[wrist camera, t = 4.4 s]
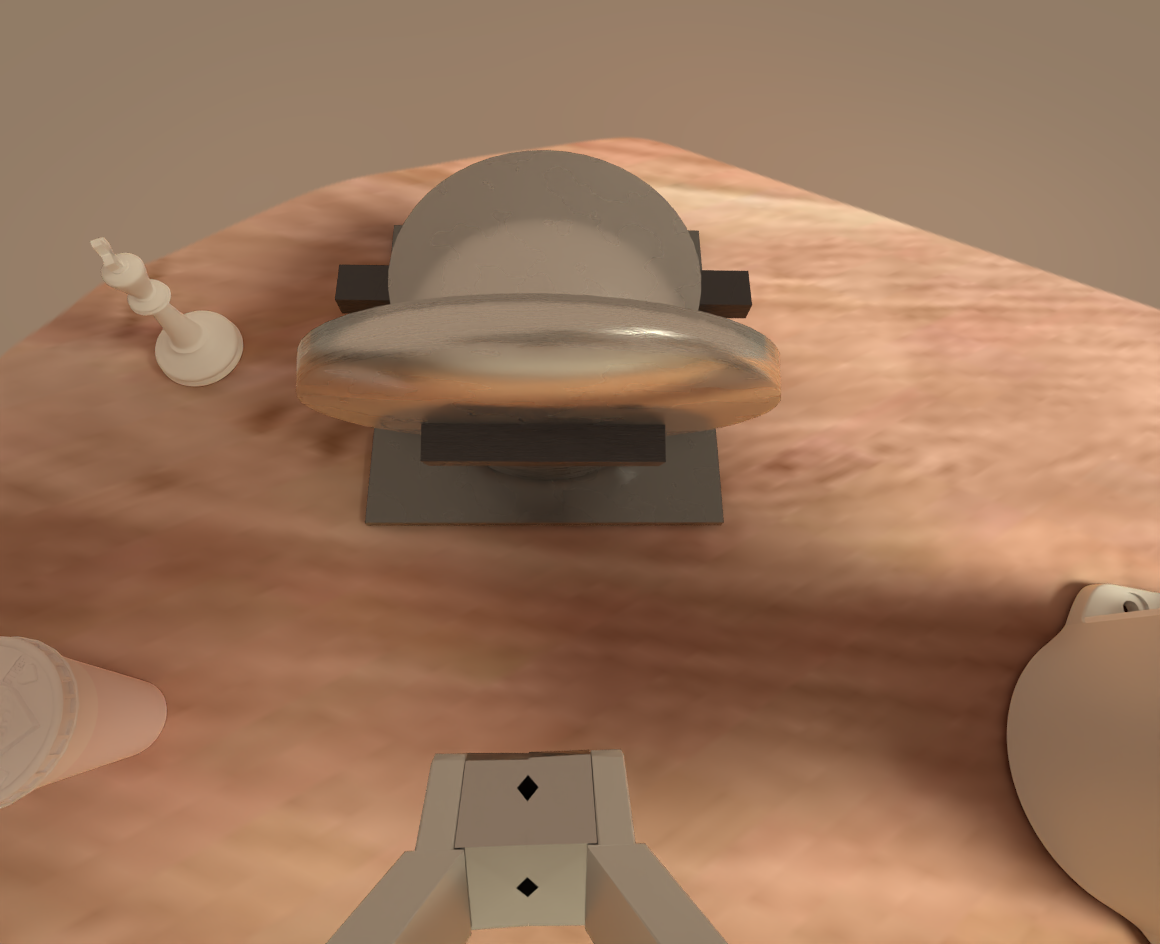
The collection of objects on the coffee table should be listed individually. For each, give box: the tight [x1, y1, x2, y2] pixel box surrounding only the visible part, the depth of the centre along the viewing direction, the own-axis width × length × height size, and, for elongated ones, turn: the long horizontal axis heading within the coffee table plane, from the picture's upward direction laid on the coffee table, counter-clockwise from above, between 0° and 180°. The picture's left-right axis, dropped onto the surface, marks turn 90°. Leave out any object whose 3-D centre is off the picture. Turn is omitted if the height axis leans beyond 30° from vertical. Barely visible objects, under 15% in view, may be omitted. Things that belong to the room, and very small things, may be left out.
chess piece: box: [90, 237, 243, 386], centre depth 36 cm, size 5×5×10 cm
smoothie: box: [0, 636, 167, 809], centre depth 27 cm, size 6×6×14 cm
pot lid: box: [296, 293, 781, 466], centre depth 22 cm, size 15×15×3 cm
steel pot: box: [335, 150, 752, 526], centre depth 37 cm, size 20×20×10 cm
